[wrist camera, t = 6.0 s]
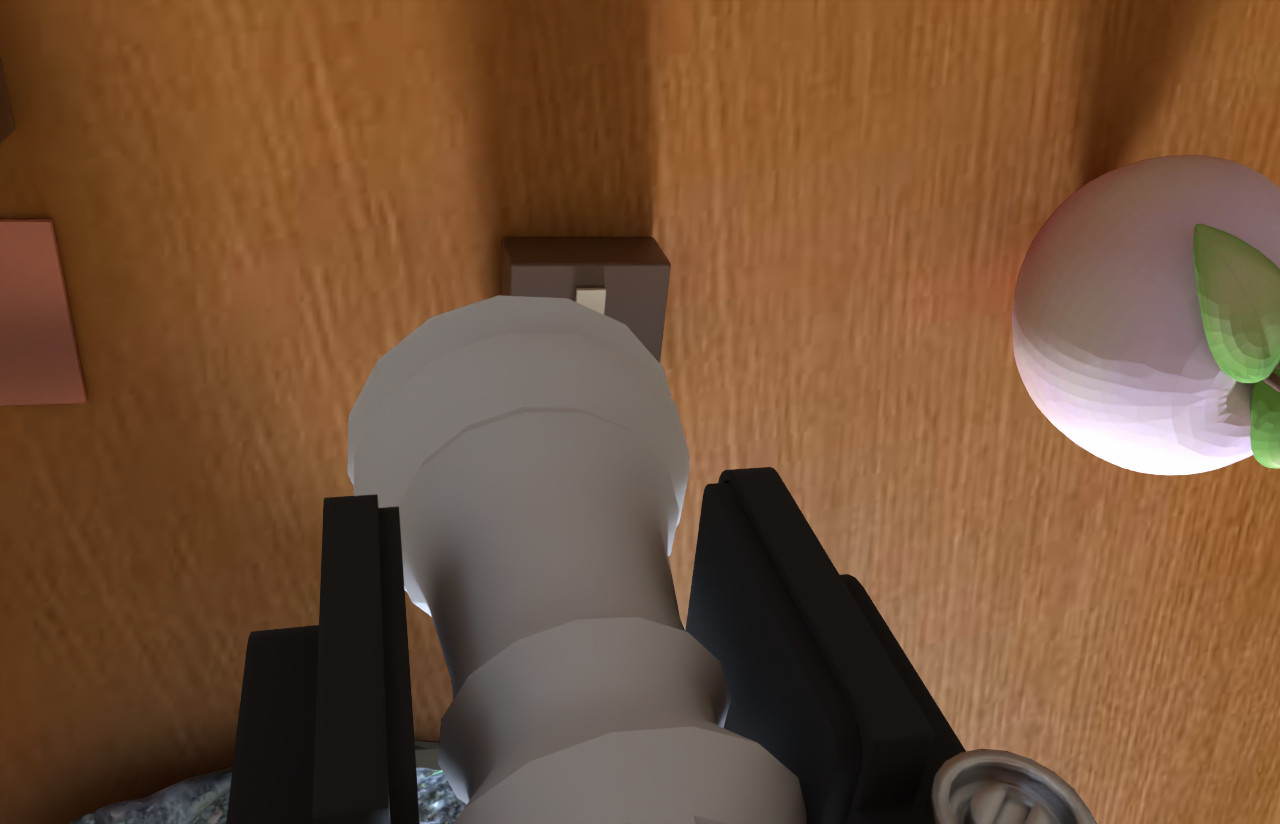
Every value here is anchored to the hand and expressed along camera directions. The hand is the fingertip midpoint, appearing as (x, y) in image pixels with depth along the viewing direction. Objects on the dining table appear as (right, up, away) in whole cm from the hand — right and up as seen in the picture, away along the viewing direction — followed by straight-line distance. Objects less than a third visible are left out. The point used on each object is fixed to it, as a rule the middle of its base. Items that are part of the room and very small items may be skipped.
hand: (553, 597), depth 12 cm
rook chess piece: (-1, +2, +3) cm, 4 cm away
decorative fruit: (+15, +7, +22) cm, 28 cm away
